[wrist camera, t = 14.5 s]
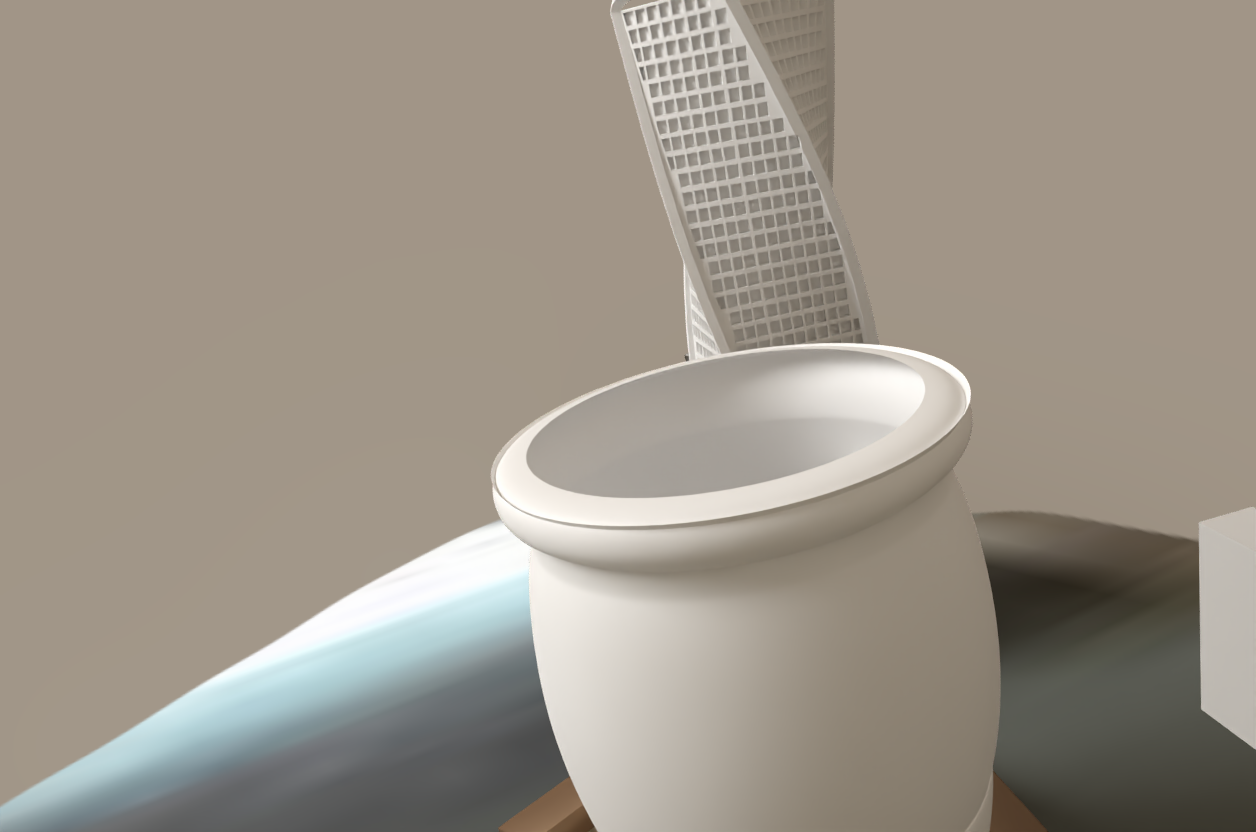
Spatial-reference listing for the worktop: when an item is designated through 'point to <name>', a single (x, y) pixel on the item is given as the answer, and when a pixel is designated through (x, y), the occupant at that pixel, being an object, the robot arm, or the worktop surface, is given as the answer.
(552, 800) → the coaster
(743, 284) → the skyscraper
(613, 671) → the jar
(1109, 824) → the worktop surface
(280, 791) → the worktop surface
